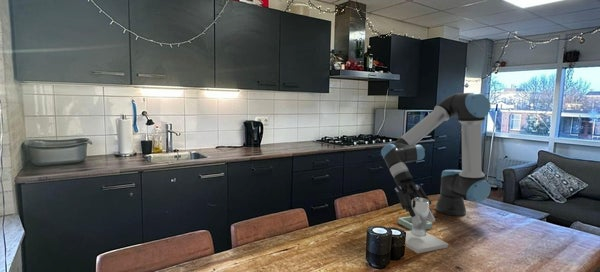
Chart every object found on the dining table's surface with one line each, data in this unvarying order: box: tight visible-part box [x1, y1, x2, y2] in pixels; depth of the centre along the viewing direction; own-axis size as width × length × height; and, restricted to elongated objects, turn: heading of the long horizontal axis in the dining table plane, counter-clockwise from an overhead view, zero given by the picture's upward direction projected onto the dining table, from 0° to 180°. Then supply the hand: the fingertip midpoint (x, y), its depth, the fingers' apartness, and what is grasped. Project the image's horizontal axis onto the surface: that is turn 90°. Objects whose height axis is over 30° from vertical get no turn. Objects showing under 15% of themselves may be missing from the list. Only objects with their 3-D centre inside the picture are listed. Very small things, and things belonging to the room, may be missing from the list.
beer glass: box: [410, 197, 430, 237], centre depth 133 cm, size 7×7×15 cm
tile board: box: [405, 230, 449, 254], centre depth 134 cm, size 16×16×2 cm
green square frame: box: [397, 215, 434, 231], centre depth 152 cm, size 11×11×2 cm
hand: (426, 222), depth 130 cm, fingers closed on beer glass, 7 cm apart
